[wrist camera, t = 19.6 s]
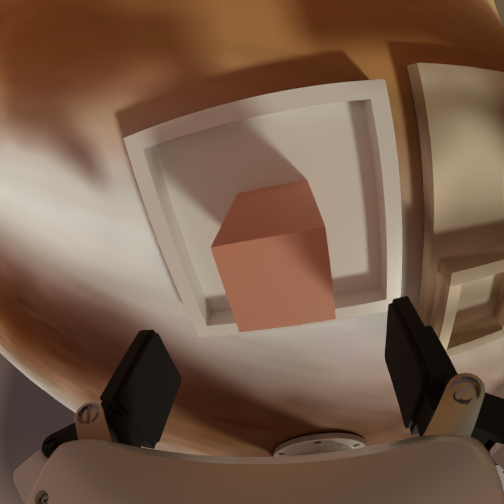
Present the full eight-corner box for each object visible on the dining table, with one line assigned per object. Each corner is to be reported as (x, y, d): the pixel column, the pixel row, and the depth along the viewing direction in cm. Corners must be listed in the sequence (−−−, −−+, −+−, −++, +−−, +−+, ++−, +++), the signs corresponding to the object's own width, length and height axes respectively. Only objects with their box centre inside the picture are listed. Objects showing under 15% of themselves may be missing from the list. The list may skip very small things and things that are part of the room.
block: (318, 243, 17) (335, 318, 11) (253, 254, 18) (239, 332, 12) (307, 179, 16) (325, 227, 9) (237, 193, 16) (210, 247, 10)
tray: (390, 290, 19) (399, 308, 17) (204, 318, 22) (198, 337, 20) (372, 82, 13) (384, 79, 11) (139, 134, 16) (123, 137, 14)
